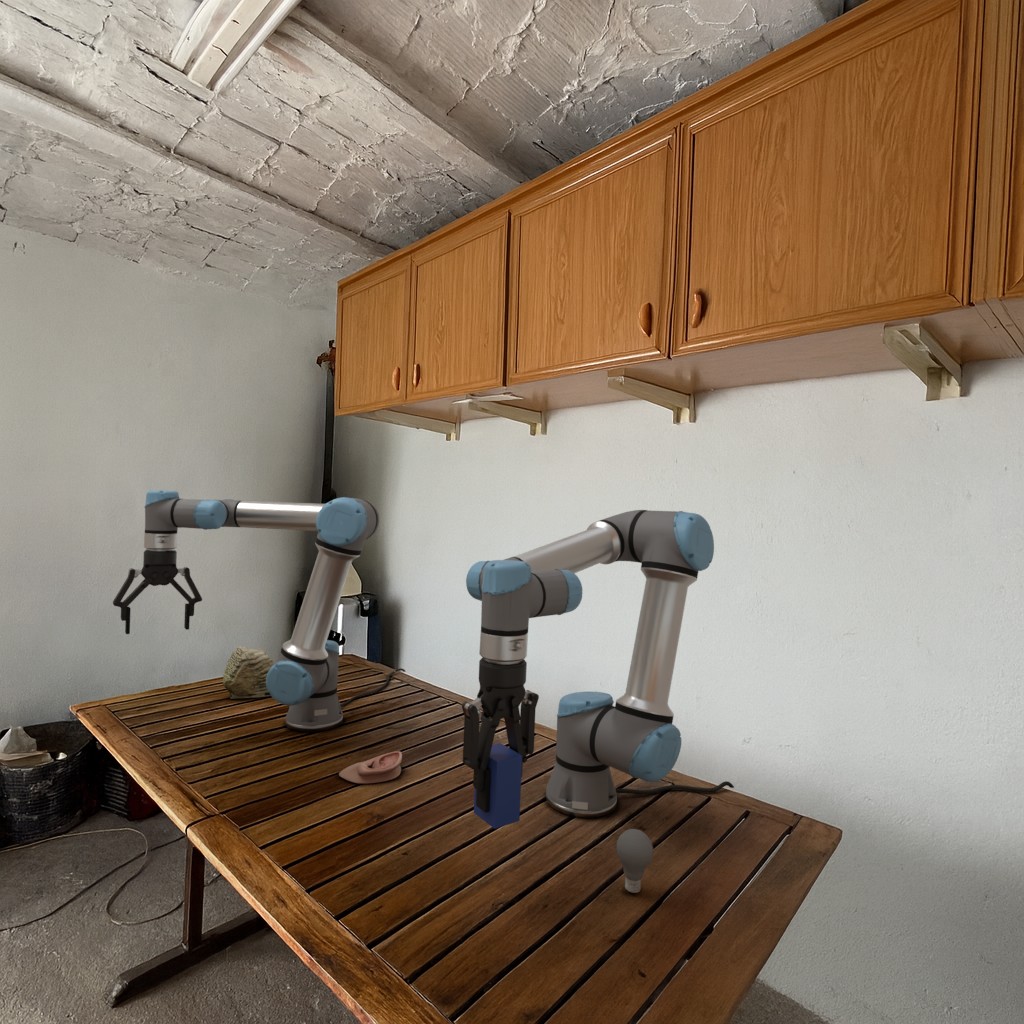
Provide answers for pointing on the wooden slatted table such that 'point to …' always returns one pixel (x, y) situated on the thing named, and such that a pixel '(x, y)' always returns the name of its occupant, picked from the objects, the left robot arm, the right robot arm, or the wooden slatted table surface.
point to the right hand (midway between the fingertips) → (497, 803)
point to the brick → (503, 787)
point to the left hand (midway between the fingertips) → (157, 630)
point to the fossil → (247, 673)
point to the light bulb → (634, 857)
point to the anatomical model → (374, 769)
